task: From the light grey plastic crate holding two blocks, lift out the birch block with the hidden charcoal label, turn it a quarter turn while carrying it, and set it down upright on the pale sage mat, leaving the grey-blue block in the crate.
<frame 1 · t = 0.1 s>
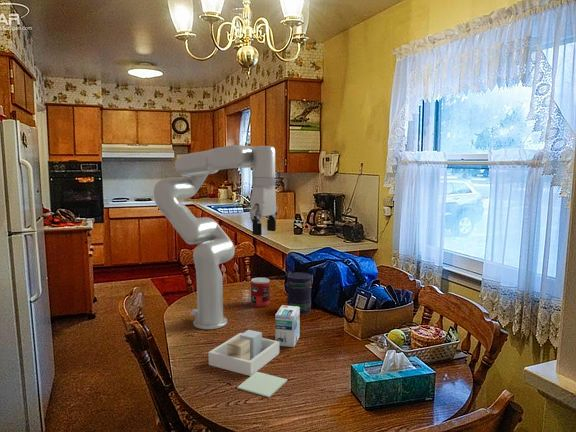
hand: (264, 232, 151), 37 cm above the table, tool pointing down, fingers open, 9 cm apart
crate: (245, 358, 138), on the table
canned food: (260, 305, 189), on the table
storage jar: (299, 311, 182), on the table
plain block: (251, 354, 141), resting in crate
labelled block: (238, 363, 134), resting in crate
light bulb box: (287, 341, 152), on the table
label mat: (262, 384, 122), on the table
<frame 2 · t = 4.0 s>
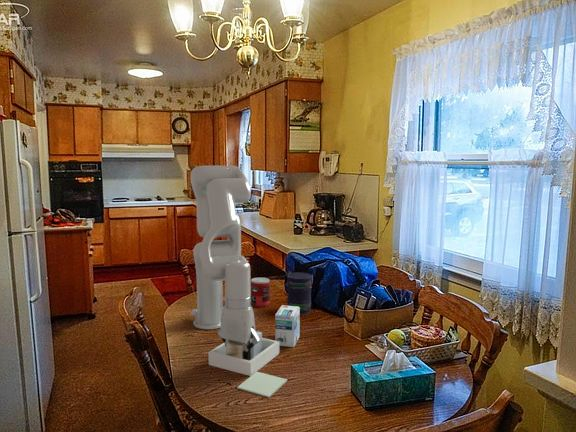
hand: (238, 359, 134), 1 cm above the table, tool pointing down, fingers closed on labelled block, 5 cm apart
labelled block: (238, 363, 134), resting in crate, touching gripper
everything else where it was.
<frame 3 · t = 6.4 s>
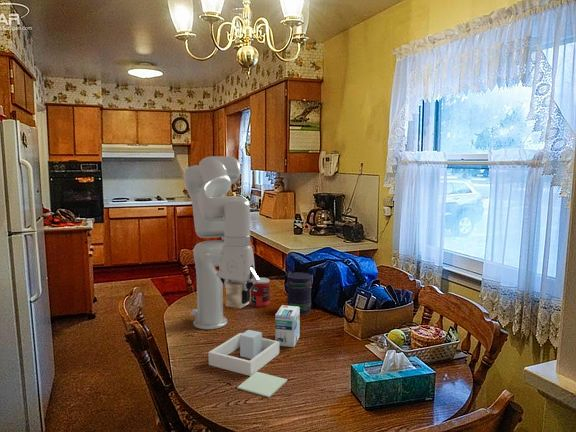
hand: (237, 300, 132), 20 cm above the table, tool pointing down, fingers closed on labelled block, 5 cm apart
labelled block: (237, 304, 132), point 18 cm above the table, touching gripper
everything else where it was.
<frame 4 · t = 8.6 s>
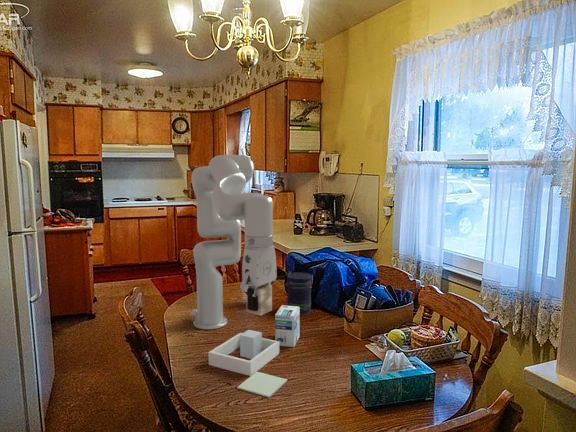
hand: (259, 306, 121), 22 cm above the table, tool pointing down, fingers closed on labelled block, 5 cm apart
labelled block: (259, 311, 121), point 20 cm above the table, touching gripper
everything else where it was.
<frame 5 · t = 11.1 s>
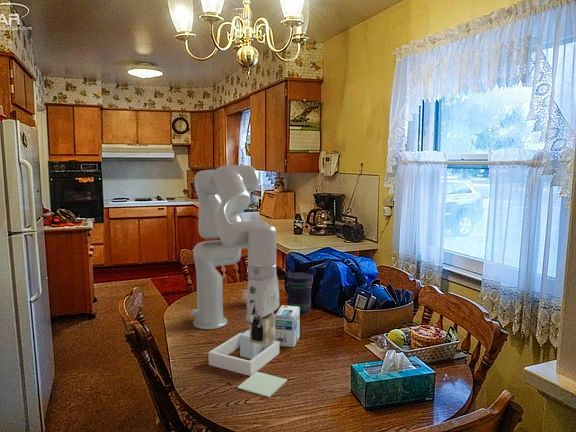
hand: (262, 336, 120), 14 cm above the table, tool pointing down, fingers closed on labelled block, 5 cm apart
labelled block: (262, 340, 120), point 13 cm above the table, touching gripper
everything else where it was.
when the fingers open (3 cm above the table, at t = 13.4 s): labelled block drops 1 cm, resting on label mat.
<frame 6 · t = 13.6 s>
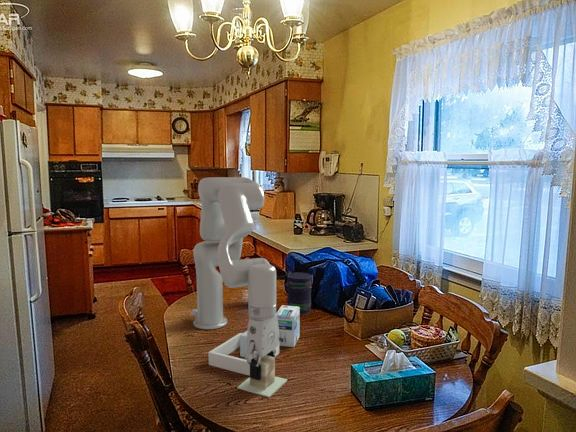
hand: (262, 372, 121), 3 cm above the table, tool pointing down, fingers open, 6 cm apart
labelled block: (262, 383, 122), resting on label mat
everything else where it was.
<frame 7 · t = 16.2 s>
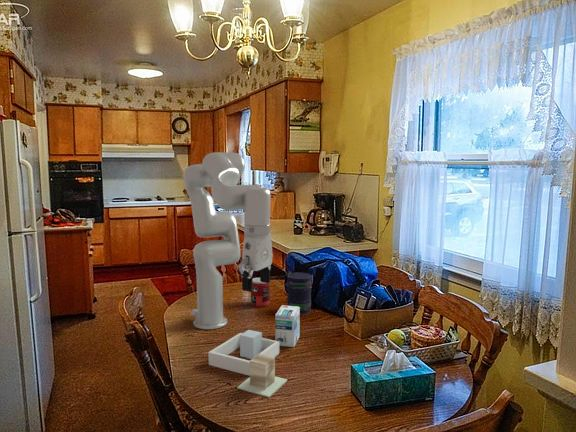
hand: (256, 286, 132), 24 cm above the table, tool pointing down, fingers open, 9 cm apart
nothing on the table moved.
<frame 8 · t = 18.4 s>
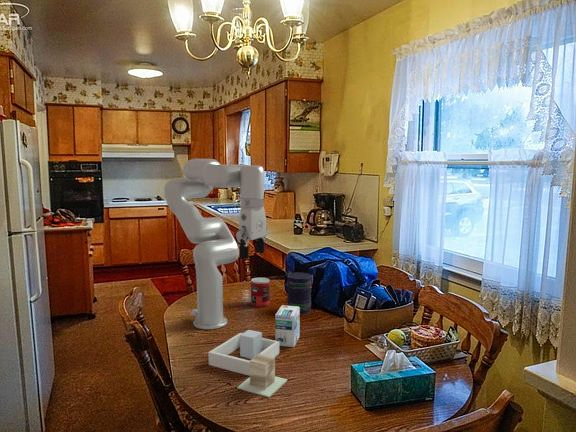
hand: (252, 255, 145), 30 cm above the table, tool pointing down, fingers open, 9 cm apart
nothing on the table moved.
at the end: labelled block inside the target area on the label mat (0.1 cm from its centre), point 0.4 cm above the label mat's base; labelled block tilted 0°; plain block moved 0.1 cm from its start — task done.
